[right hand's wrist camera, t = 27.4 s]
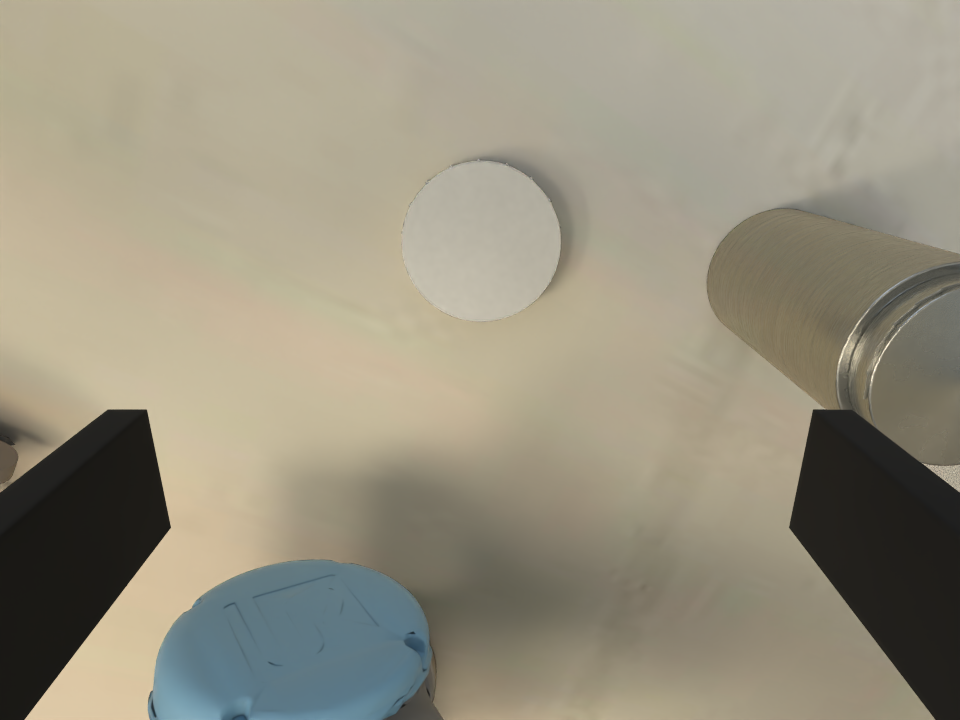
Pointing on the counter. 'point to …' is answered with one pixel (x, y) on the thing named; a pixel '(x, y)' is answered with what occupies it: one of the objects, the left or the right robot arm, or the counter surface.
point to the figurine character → (7, 459)
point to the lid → (481, 241)
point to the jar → (850, 321)
